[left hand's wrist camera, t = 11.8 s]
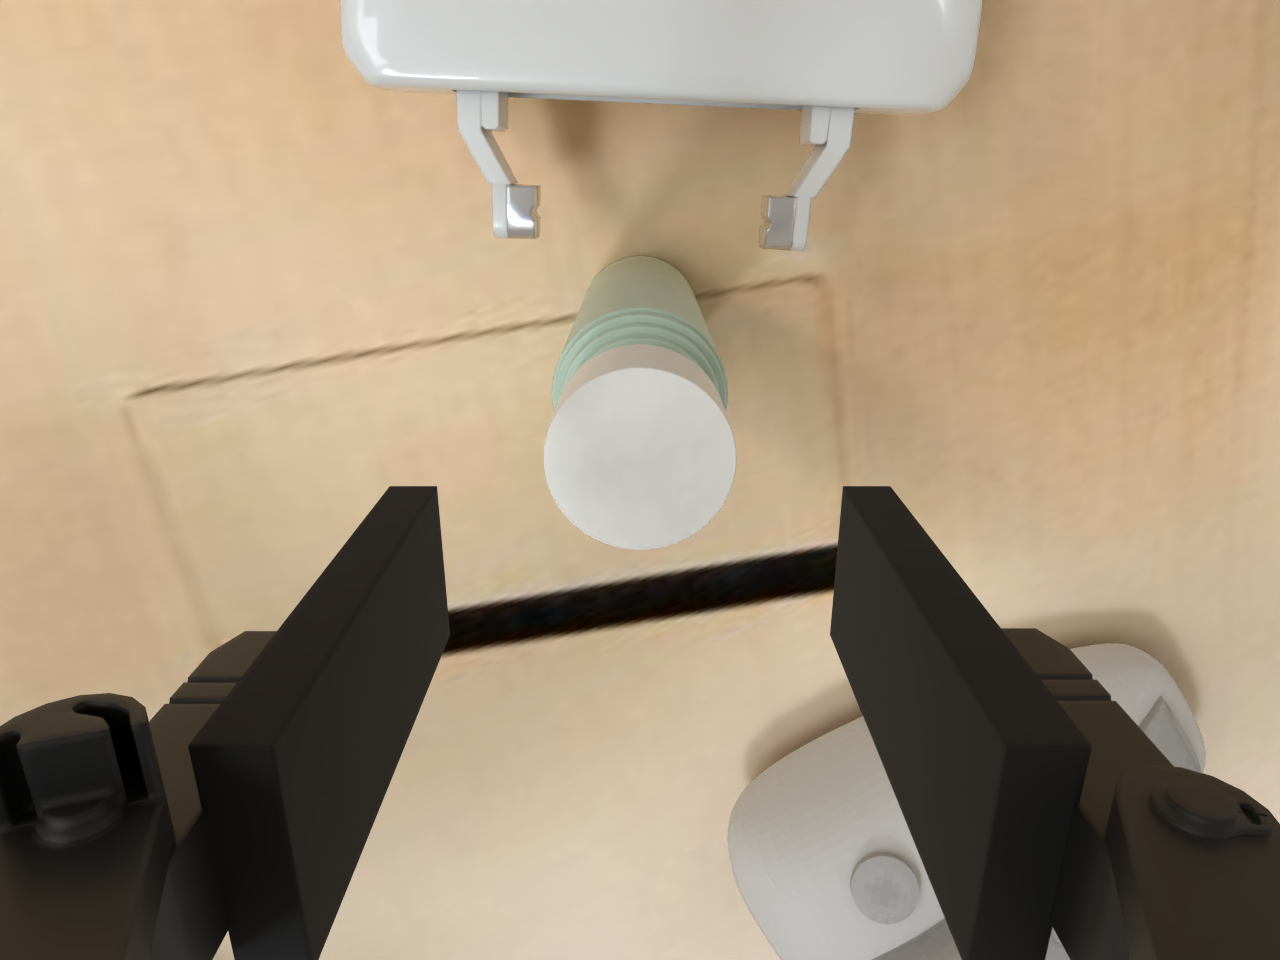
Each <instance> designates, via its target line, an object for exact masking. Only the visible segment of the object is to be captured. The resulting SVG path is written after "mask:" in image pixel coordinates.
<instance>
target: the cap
mask: <svg viewBox="0 0 1280 960" xmlns="http://www.w3.org/2000/svg"><path fill="white" fill-rule="evenodd" d="M736 459H737V457H736V445H735V441H734V436H733V432H732V430H731V427H730V424H729V421H728V418H727V415H726V412H725V409H724V406H723V404H722V401H721V398H720V395H719V393H718V391H717V389H716V388H715V386H714V384H713V383H712V381H711V380H710V378H709V377H708V376H707V374H706V373H705V372H704V371H703V370H702V369H701V368H700V367H699V366H698V365H696V364H695V363H694V362H693V361H691V360H690V359H688V358H687V357H685V356H683V355H682V354H680V353H677V352H675V351H673V350H670V349H667V348H664V347H660V346H654V345H648V344H634V345H625V346H620V347H616V348H613V349H610V350H607V351H605V352H602V353H601V354H599V355H597V356H595V357H593V358H592V359H590V360H589V361H588V362H586V363H585V364H584V365H582V366H581V367H580V368H579V369H578V370H577V371H576V372H575V373H574V375H573V376H572V377H571V378H570V380H569V381H568V382H567V384H566V386H565V388H564V389H563V391H562V393H561V396H560V398H559V401H558V403H557V406H556V409H555V412H554V415H553V418H552V421H551V424H550V427H549V429H548V433H547V437H546V440H545V447H544V470H545V477H546V480H547V484H548V487H549V490H550V492H551V494H552V497H553V499H554V501H555V502H556V504H557V505H558V507H559V509H560V510H561V511H562V513H563V514H564V515H565V516H566V517H567V519H568V520H569V521H570V522H571V523H573V524H574V525H575V526H576V527H577V528H578V529H580V530H581V531H582V532H584V533H585V534H587V535H588V536H590V537H592V538H594V539H596V540H598V541H600V542H603V543H605V544H608V545H611V546H615V547H619V548H625V549H632V550H647V549H656V548H661V547H665V546H669V545H672V544H675V543H678V542H680V541H682V540H684V539H686V538H688V537H690V536H692V535H693V534H695V533H696V532H698V531H699V530H701V529H702V528H703V527H704V526H705V525H706V524H708V523H709V522H710V521H711V520H712V518H713V517H714V516H715V515H716V514H717V513H718V511H719V510H720V509H721V507H722V506H723V504H724V503H725V501H726V499H727V497H728V495H729V493H730V490H731V487H732V484H733V481H734V476H735V471H736Z"/></svg>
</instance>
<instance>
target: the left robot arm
mask: <svg viewBox="0 0 1280 960" xmlns="http://www.w3.org/2000/svg"><path fill="white" fill-rule="evenodd" d="M449 636H450V631H449V619H448V608H447V596H446V585H445V574H444V562H443V551H442V539H441V528H440V516H439V505H438V494H437V486H390V487H389V488H388V489H387V491H386V492H385V493H384V495H383V496H382V497H381V498H380V500H379V501H378V502H377V504H376V505H375V506H374V507H373V509H372V510H371V511H370V513H369V514H368V515H367V516H366V518H365V519H364V520H363V522H362V523H361V524H360V525H359V527H358V528H357V529H356V531H355V532H354V533H353V534H352V536H351V537H350V538H349V539H348V541H347V542H346V543H345V545H344V546H343V547H342V548H341V550H340V551H339V552H338V554H337V555H336V556H335V557H334V559H333V560H332V561H331V563H330V564H329V565H328V566H327V568H326V569H325V570H324V572H323V573H322V574H321V575H320V577H319V578H318V579H317V581H316V582H315V583H314V584H313V586H312V587H311V588H310V590H309V591H308V592H307V593H306V595H305V596H304V597H303V599H302V600H301V601H300V602H299V604H298V605H297V606H296V608H295V609H294V610H293V611H292V613H291V614H290V615H289V617H288V618H287V619H286V620H285V622H284V623H283V624H282V626H281V627H280V628H279V629H278V631H245V632H243V633H241V634H240V635H238V636H237V637H235V638H233V639H232V640H230V641H228V642H227V643H225V644H224V645H222V646H220V647H219V648H217V649H215V650H214V651H212V652H210V653H209V655H208V656H207V657H206V658H205V659H204V660H203V661H202V663H201V664H200V665H199V666H198V667H197V668H196V669H195V670H194V672H193V673H192V674H191V675H190V676H189V677H188V683H183V684H182V685H181V686H180V687H179V689H178V690H177V691H176V692H175V693H174V694H173V695H172V697H171V698H170V702H169V704H165V705H164V706H163V707H162V708H161V709H160V710H159V711H158V712H157V714H156V715H155V716H154V717H153V718H152V719H151V720H150V722H149V721H148V717H147V712H146V708H145V707H144V706H143V705H142V704H140V703H139V702H138V701H136V700H135V699H134V698H133V697H128V696H122V695H117V694H111V693H106V694H92V695H79V696H75V697H71V698H67V699H64V700H60V701H56V702H52V703H48V704H45V705H43V706H40V707H38V708H35V709H33V710H31V711H28V712H26V713H23V714H21V715H19V716H16V717H14V718H13V719H11V720H9V721H8V722H6V723H5V724H3V725H2V726H0V960H212V959H213V957H214V955H215V954H216V952H217V950H218V948H219V946H220V944H221V942H222V941H223V939H224V937H225V935H226V933H227V931H229V935H230V940H231V945H232V949H233V954H234V958H235V960H318V959H319V957H320V954H321V952H322V949H323V947H324V944H325V942H326V939H327V937H328V934H329V932H330V930H331V927H332V925H333V922H334V920H335V917H336V915H337V912H338V910H339V907H340V905H341V902H342V900H343V897H344V895H345V892H346V890H347V888H348V885H349V883H350V880H351V878H352V875H353V873H354V870H355V868H356V865H357V863H358V860H359V858H360V855H361V853H362V850H363V848H364V846H365V843H366V841H367V838H368V836H369V833H370V831H371V828H372V826H373V823H374V821H375V818H376V816H377V813H378V811H379V808H380V806H381V804H382V801H383V799H384V796H385V794H386V791H387V789H388V786H389V784H390V781H391V779H392V776H393V774H394V771H395V769H396V766H397V764H398V762H399V759H400V757H401V754H402V752H403V749H404V747H405V744H406V742H407V739H408V737H409V734H410V732H411V729H412V727H413V724H414V722H415V720H416V717H417V715H418V712H419V710H420V707H421V705H422V702H423V700H424V697H425V695H426V692H427V690H428V687H429V685H430V683H431V680H432V678H433V675H434V673H435V670H436V668H437V665H438V663H439V660H440V658H441V655H442V653H443V650H444V648H445V645H446V643H447V641H448V638H449ZM830 636H831V638H832V641H833V643H834V645H835V648H836V650H837V653H838V655H839V658H840V660H841V663H842V665H843V668H844V670H845V673H846V675H847V678H848V680H849V683H850V685H851V687H852V690H853V692H854V695H855V697H856V700H857V702H858V705H859V707H860V710H861V712H862V715H863V717H864V720H865V722H866V724H867V727H868V729H869V732H870V734H871V737H872V739H873V742H874V744H875V747H876V749H877V752H878V754H879V757H880V759H881V762H882V764H883V766H884V769H885V771H886V774H887V776H888V779H889V781H890V784H891V786H892V789H893V791H894V794H895V796H896V799H897V801H898V804H899V806H900V808H901V811H902V813H903V816H904V818H905V821H906V823H907V826H908V828H909V831H910V833H911V836H912V838H913V841H914V843H915V846H916V848H917V850H918V853H919V855H920V858H921V860H922V863H923V865H924V868H925V870H926V873H927V875H928V878H929V880H930V883H931V885H932V888H933V890H934V892H935V895H936V897H937V900H938V902H939V905H940V907H941V910H942V912H943V915H944V917H945V920H946V922H947V925H948V927H949V930H950V932H951V934H952V937H953V939H954V942H955V944H956V947H957V949H958V952H959V954H960V957H961V959H962V960H1045V958H1046V954H1047V949H1048V945H1049V940H1050V935H1051V931H1052V927H1053V929H1054V930H1055V932H1056V934H1057V936H1058V938H1059V940H1060V942H1061V943H1062V945H1063V947H1064V949H1065V951H1066V953H1067V954H1068V956H1069V958H1070V960H1280V824H1279V823H1278V821H1277V820H1276V819H1275V818H1274V816H1273V815H1272V814H1271V812H1270V811H1269V810H1268V809H1267V808H1265V807H1264V806H1262V805H1261V804H1260V803H1258V802H1257V801H1256V800H1254V799H1253V798H1252V797H1250V796H1249V795H1248V794H1246V793H1245V792H1244V791H1242V790H1240V789H1238V788H1236V787H1234V786H1232V785H1229V784H1227V783H1225V782H1223V781H1221V780H1219V779H1217V778H1215V777H1213V776H1210V775H1206V774H1203V773H1199V772H1196V771H1192V770H1189V769H1185V768H1182V767H1174V766H1173V765H1172V764H1171V763H1170V761H1169V760H1168V759H1167V758H1166V757H1165V756H1164V755H1163V754H1162V752H1161V751H1160V750H1159V749H1158V748H1157V747H1156V746H1155V744H1154V743H1153V742H1152V741H1151V740H1150V739H1149V738H1148V737H1147V735H1146V734H1145V733H1144V732H1143V731H1142V730H1141V729H1140V728H1139V726H1138V725H1137V724H1136V723H1135V722H1134V721H1133V720H1132V719H1131V717H1130V716H1129V715H1128V714H1127V713H1126V712H1125V711H1124V710H1123V708H1122V707H1121V706H1120V705H1119V704H1118V703H1117V702H1116V701H1112V700H1111V695H1110V694H1109V693H1108V692H1107V690H1106V689H1105V688H1104V687H1103V686H1102V685H1101V684H1100V683H1099V681H1098V680H1093V677H1092V674H1091V672H1090V671H1089V670H1088V669H1087V668H1086V667H1085V666H1084V665H1083V663H1082V662H1081V661H1080V660H1079V659H1078V658H1077V657H1076V656H1075V654H1074V653H1073V652H1072V651H1071V650H1070V649H1068V648H1067V647H1065V646H1063V645H1062V644H1060V643H1058V642H1057V641H1055V640H1054V639H1052V638H1050V637H1049V636H1047V635H1045V634H1044V633H1042V632H1040V631H1039V630H1037V629H1001V628H1000V627H999V626H998V624H997V623H996V622H995V620H994V619H993V618H992V617H991V615H990V614H989V613H988V611H987V610H986V609H985V608H984V606H983V605H982V604H981V602H980V601H979V600H978V599H977V597H976V596H975V595H974V593H973V592H972V591H971V590H970V588H969V587H968V586H967V584H966V583H965V582H964V581H963V579H962V578H961V577H960V575H959V574H958V573H957V572H956V570H955V569H954V568H953V566H952V565H951V564H950V563H949V561H948V560H947V559H946V557H945V556H944V555H943V554H942V552H941V551H940V550H939V548H938V547H937V546H936V545H935V543H934V542H933V541H932V539H931V538H930V537H929V536H928V534H927V533H926V532H925V531H924V529H923V528H922V527H921V525H920V524H919V523H918V522H917V520H916V519H915V518H914V516H913V515H912V514H911V513H910V511H909V510H908V509H907V507H906V506H905V505H904V504H903V502H902V501H901V500H900V498H899V497H898V496H897V495H896V493H895V492H894V491H893V489H892V488H891V487H890V486H843V494H842V505H841V516H840V528H839V539H838V551H837V562H836V574H835V585H834V596H833V608H832V619H831V631H830Z"/></svg>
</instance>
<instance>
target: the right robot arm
mask: <svg viewBox="0 0 1280 960" xmlns="http://www.w3.org/2000/svg"><path fill="white" fill-rule="evenodd" d="M982 1H983V0H341V34H342V44H343V49H344V52H345V54H346V56H347V58H348V59H349V61H350V62H351V64H352V65H353V66H354V68H355V69H356V70H357V71H358V73H359V74H360V75H361V76H362V77H363V79H364V80H365V81H366V82H367V83H368V84H370V85H372V86H374V87H377V88H380V89H382V90H387V91H392V92H402V93H422V94H445V95H457V126H458V130H459V132H460V134H461V136H462V137H463V139H464V141H465V143H466V144H467V146H468V148H469V150H470V152H471V153H472V155H473V157H474V159H475V161H476V162H477V164H478V166H479V168H480V170H481V171H482V173H483V175H484V177H485V178H486V180H487V182H488V184H492V205H493V231H494V236H495V238H517V239H537V238H538V237H539V235H540V216H539V215H538V213H537V212H536V210H537V209H538V207H539V206H540V186H538V185H522V184H516V183H518V182H517V180H516V178H515V176H514V175H513V173H512V171H511V169H510V167H509V165H508V163H507V161H506V159H505V157H504V155H503V153H502V152H501V150H500V148H499V146H498V144H497V142H496V140H495V138H494V136H493V134H492V131H495V132H505V131H506V130H507V129H508V97H511V98H533V99H555V100H577V101H600V102H622V103H644V104H666V105H688V106H710V107H732V108H755V109H777V110H799V111H802V114H801V126H800V138H799V142H800V143H801V145H808V146H813V145H815V148H814V149H813V151H812V153H811V154H810V156H809V157H808V159H807V160H806V162H805V164H804V165H803V167H802V168H801V170H800V171H799V173H798V174H797V176H796V178H795V179H794V181H793V182H792V184H791V185H790V187H789V188H788V190H787V192H786V193H785V195H787V196H766V195H762V206H761V216H762V217H763V219H764V222H763V223H762V225H761V226H760V229H759V246H760V247H762V248H763V249H777V250H796V251H804V249H805V246H806V242H807V235H808V225H809V216H810V207H811V198H815V197H816V196H817V194H818V193H819V192H820V190H821V189H822V187H823V186H824V184H825V183H826V181H827V180H828V178H829V177H830V175H831V174H832V173H833V171H834V170H835V168H836V167H837V165H838V164H839V162H840V161H841V159H842V158H843V156H844V155H845V154H846V152H847V151H848V149H849V148H850V144H851V136H852V128H853V120H854V113H865V114H888V115H924V114H929V113H933V112H937V111H941V110H942V109H944V108H945V107H946V106H947V105H948V104H949V103H950V102H951V101H952V100H953V99H954V98H955V97H956V96H957V95H958V94H959V92H960V91H961V90H962V89H963V88H964V86H965V85H966V84H967V82H968V81H969V79H970V76H971V74H972V70H973V67H974V61H975V56H976V50H977V44H978V36H979V29H980V20H981V11H982Z"/></svg>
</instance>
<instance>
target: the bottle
mask: <svg viewBox="0 0 1280 960" xmlns="http://www.w3.org/2000/svg"><path fill="white" fill-rule="evenodd" d="M634 344H648V345H654V346H660V347H664V348H667V349H670V350H673V351H675V352H677V353H680V354H682V355H683V356H685V357H687V358H688V359H690V360H691V361H693V362H694V363H695V364H696V365H698V366H699V367H700V368H701V369H702V370H703V371H704V372H705V373H706V374H707V376H708V377H709V378H710V380H711V381H712V383H713V384H714V386H715V388H716V389H717V391H718V393H719V395H720V398H721V401H722V404H723V406H724V409H725V412H726V408H727V401H728V385H727V378H726V373H725V369H724V366H723V364H722V361H721V358H720V356H719V353H718V351H717V349H716V346H715V344H714V341H713V339H712V337H711V334H710V332H709V329H708V327H707V325H706V322H705V320H704V317H703V315H702V313H701V310H700V308H699V305H698V303H697V301H696V298H695V296H694V293H693V291H692V289H691V287H690V285H689V283H688V282H687V280H686V279H685V277H684V276H683V275H682V274H681V273H680V272H679V271H678V270H677V269H676V268H674V267H673V266H672V265H670V264H668V263H667V262H665V261H662V260H660V259H657V258H654V257H648V256H632V257H627V258H623V259H620V260H618V261H615V262H613V263H612V264H610V265H608V266H607V267H606V268H604V269H603V270H602V271H601V272H600V273H599V274H598V275H597V276H596V278H595V279H594V280H593V282H592V283H591V285H590V287H589V289H588V291H587V294H586V296H585V299H584V301H583V303H582V306H581V308H580V311H579V313H578V315H577V318H576V320H575V323H574V325H573V327H572V330H571V332H570V335H569V337H568V339H567V342H566V344H565V347H564V349H563V351H562V354H561V356H560V359H559V361H558V364H557V366H556V370H555V373H554V377H553V385H552V401H553V408H554V412H555V409H556V406H557V403H558V401H559V398H560V396H561V393H562V391H563V389H564V388H565V386H566V384H567V382H568V381H569V380H570V378H571V377H572V376H573V375H574V373H575V372H576V371H577V370H578V369H579V368H580V367H581V366H582V365H584V364H585V363H586V362H588V361H589V360H590V359H592V358H593V357H595V356H597V355H599V354H601V353H602V352H605V351H607V350H610V349H613V348H616V347H620V346H625V345H634Z"/></svg>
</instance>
